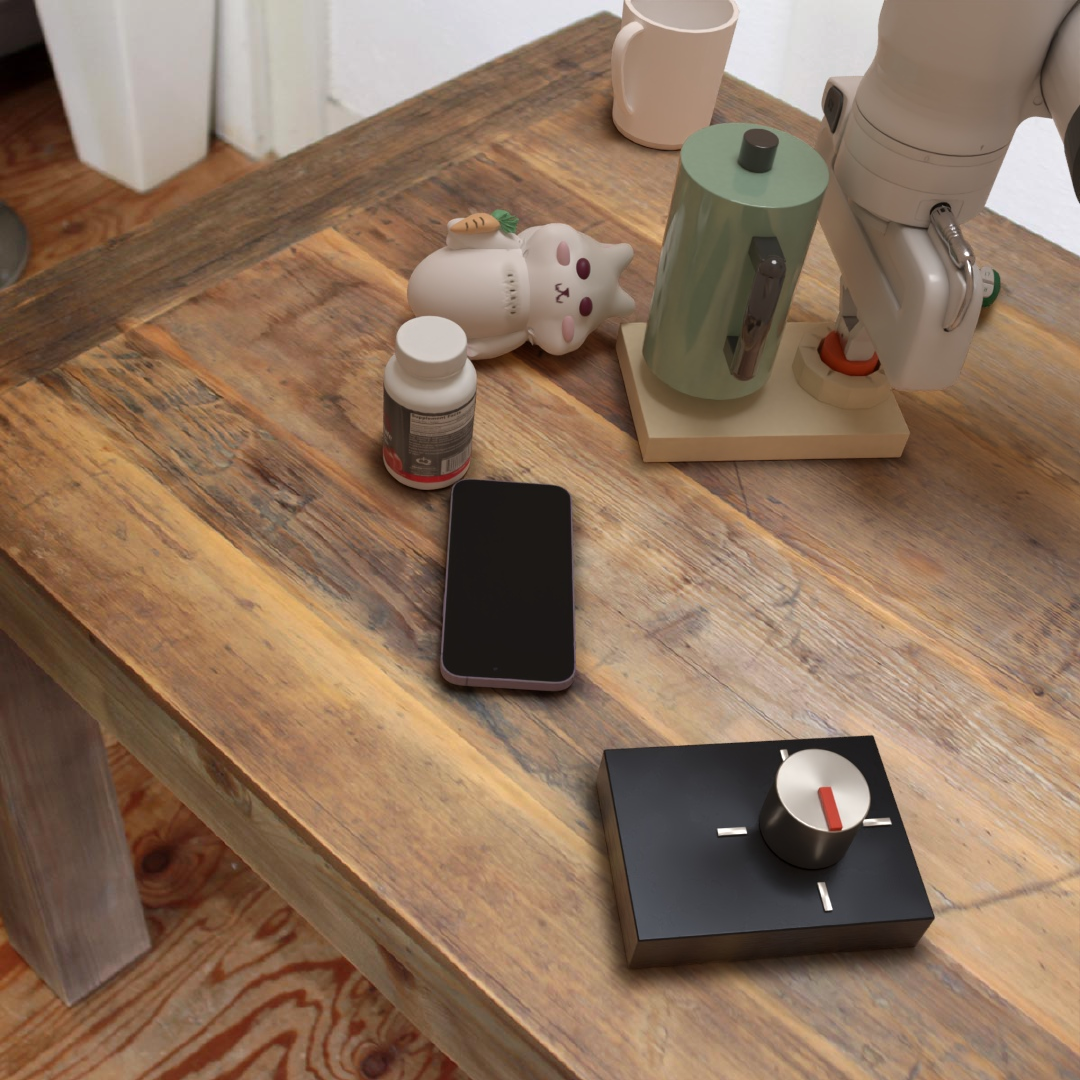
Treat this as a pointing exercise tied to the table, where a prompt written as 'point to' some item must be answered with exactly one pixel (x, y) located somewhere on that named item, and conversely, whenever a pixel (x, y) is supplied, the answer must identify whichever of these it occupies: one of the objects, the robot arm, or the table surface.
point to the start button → (844, 358)
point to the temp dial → (814, 808)
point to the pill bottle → (429, 404)
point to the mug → (669, 67)
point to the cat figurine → (521, 284)
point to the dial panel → (747, 859)
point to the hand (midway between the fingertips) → (851, 346)
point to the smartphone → (509, 587)
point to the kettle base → (766, 408)
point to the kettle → (731, 258)
